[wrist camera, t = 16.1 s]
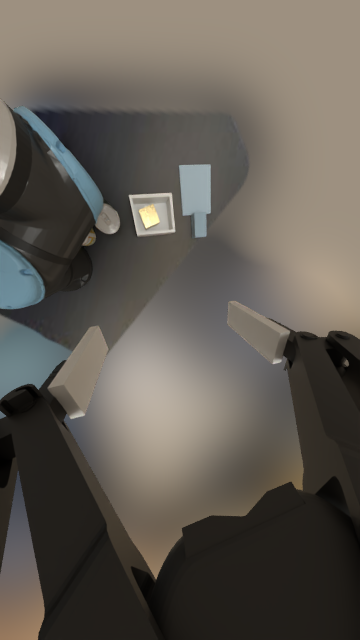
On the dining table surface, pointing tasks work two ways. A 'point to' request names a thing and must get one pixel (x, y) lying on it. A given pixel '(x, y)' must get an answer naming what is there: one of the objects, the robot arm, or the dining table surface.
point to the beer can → (108, 219)
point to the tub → (162, 209)
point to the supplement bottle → (90, 238)
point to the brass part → (149, 216)
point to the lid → (196, 196)
